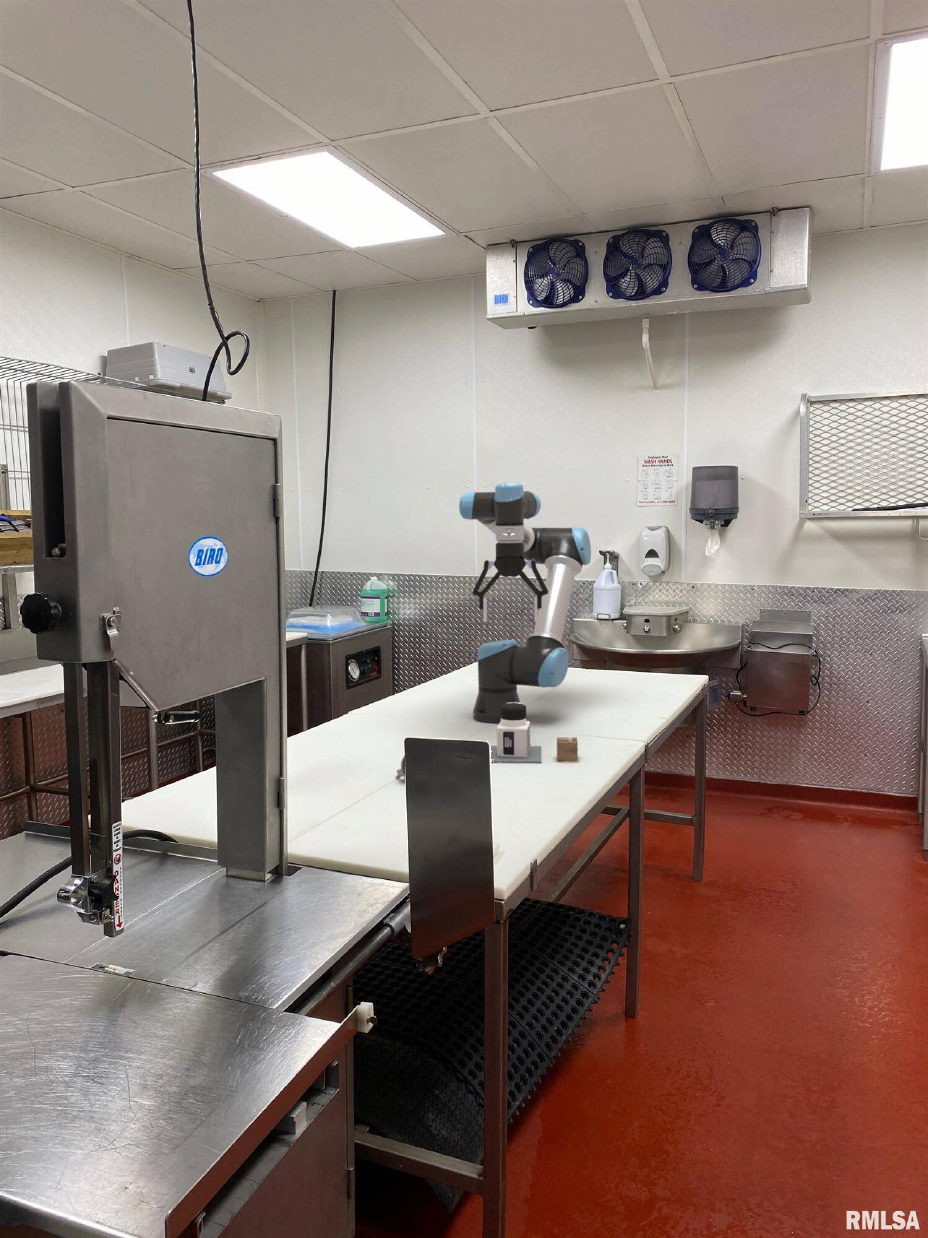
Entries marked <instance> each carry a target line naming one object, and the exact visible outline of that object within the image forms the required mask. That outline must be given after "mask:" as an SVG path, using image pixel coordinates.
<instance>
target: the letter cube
mask: <svg viewBox="0 0 928 1238" xmlns="http://www.w3.org/2000/svg"><path fill="white" fill-rule="evenodd" d="M578 745H579V744H578V738H577V737H576V736H574V737H573V736H571V737H569V736H568V737H566V736H564V737H563V736H562V737H561V736H559V737H558V736H557V737H556V761H557V763H559V762H560V763H561V761H562V763H565V762H564V761H578V759H579V757H578V750H579V749H578V747H579V746H578Z"/></svg>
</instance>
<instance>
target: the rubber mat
mask: <svg viewBox="0 0 928 1238" xmlns="http://www.w3.org/2000/svg"><path fill="white" fill-rule="evenodd" d="M490 746H491V751H492V752H491V759H492V763H491V764H499V763H498V762H501V763H500V764H542V745H539V746H538V745H530V751H529V754H528V757H527V758H516V757H498V756H497V745H490ZM493 759H494V760H493ZM493 761H494V763H493ZM496 762H497V763H496Z"/></svg>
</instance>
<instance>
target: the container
mask: <svg viewBox="0 0 928 1238" xmlns="http://www.w3.org/2000/svg"><path fill="white" fill-rule="evenodd" d="M496 746H497V756H498V757H516V758H527V757H528V754H529V751H530V746H531V721H529V720H527V706H526V705H525V704H523V703H522V702H520V703H517V702H511V703H505V704H503V705H502V706H501V722H500V723H498V725H497V727H496Z"/></svg>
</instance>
